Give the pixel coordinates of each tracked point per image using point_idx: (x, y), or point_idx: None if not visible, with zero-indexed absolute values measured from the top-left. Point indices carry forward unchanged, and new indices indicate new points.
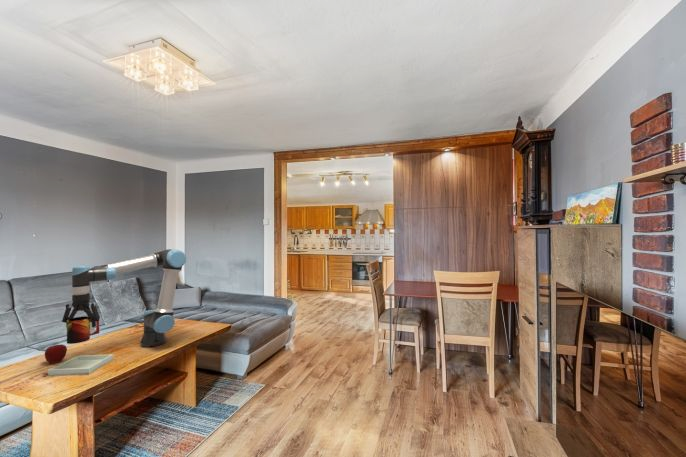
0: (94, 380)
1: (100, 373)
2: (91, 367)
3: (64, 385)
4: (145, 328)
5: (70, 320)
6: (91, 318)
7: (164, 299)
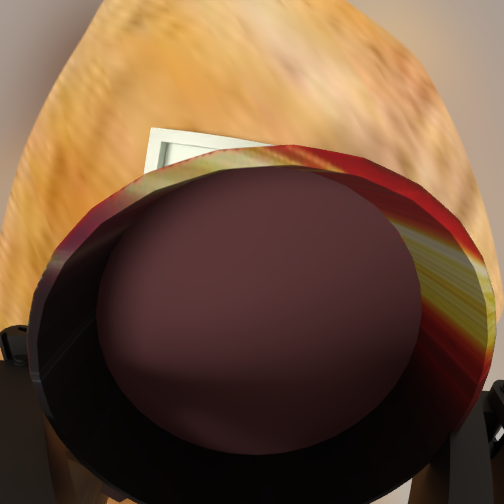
0: (107, 59)
1: (112, 132)
2: (148, 145)
3: (210, 28)
4: (80, 475)
5: (432, 415)
6: (11, 389)
7: None
